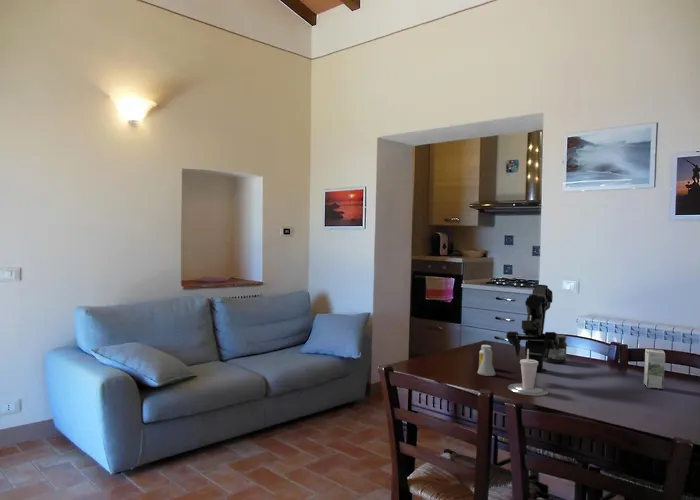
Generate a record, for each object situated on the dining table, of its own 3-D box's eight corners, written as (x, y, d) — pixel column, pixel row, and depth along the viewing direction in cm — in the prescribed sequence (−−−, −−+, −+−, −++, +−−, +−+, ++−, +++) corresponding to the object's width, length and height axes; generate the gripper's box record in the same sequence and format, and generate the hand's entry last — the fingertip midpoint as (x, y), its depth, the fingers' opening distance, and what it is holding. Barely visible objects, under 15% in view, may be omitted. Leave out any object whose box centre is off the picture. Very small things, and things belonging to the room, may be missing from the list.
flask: (496, 377, 204) (497, 352, 204) (477, 375, 205) (478, 350, 205) (494, 372, 211) (495, 348, 211) (476, 371, 212) (477, 347, 212)
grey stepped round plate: (521, 382, 197) (521, 379, 197) (555, 391, 187) (555, 389, 187) (500, 388, 188) (500, 385, 188) (535, 398, 178) (535, 395, 178)
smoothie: (518, 384, 191) (519, 346, 191) (536, 385, 190) (537, 348, 190) (519, 388, 185) (521, 350, 185) (538, 390, 184) (540, 351, 184)
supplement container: (544, 357, 243) (546, 332, 243) (568, 361, 237) (569, 335, 237) (538, 361, 235) (539, 335, 234) (562, 365, 228) (564, 338, 228)
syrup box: (659, 386, 200) (661, 349, 199) (663, 390, 194) (665, 352, 194) (643, 384, 202) (645, 347, 201) (646, 388, 196) (648, 350, 196)
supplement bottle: (491, 370, 214) (492, 347, 214) (477, 368, 216) (478, 346, 216) (492, 367, 219) (493, 345, 219) (479, 366, 221) (480, 343, 221)
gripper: (505, 311, 204) (499, 346, 195) (554, 311, 194) (550, 347, 185) (512, 326, 211) (507, 360, 202) (560, 327, 201) (557, 362, 192)
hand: (529, 357), depth 195 cm, fingers open, 9 cm apart
